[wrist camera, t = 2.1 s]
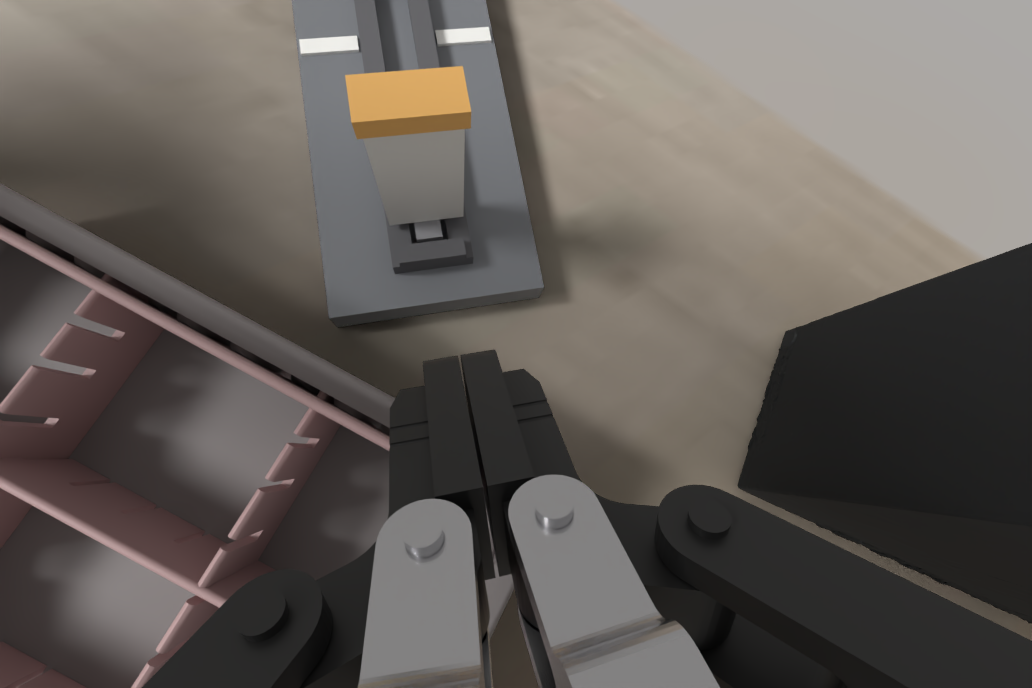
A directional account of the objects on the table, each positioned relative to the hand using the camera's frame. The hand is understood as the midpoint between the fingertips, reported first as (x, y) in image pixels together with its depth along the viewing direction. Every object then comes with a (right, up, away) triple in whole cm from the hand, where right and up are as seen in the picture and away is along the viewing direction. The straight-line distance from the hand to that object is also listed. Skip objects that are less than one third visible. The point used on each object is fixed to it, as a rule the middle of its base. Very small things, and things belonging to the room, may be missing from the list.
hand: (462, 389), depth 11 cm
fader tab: (-4, +8, +18) cm, 20 cm away
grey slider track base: (-5, +15, +22) cm, 27 cm away
